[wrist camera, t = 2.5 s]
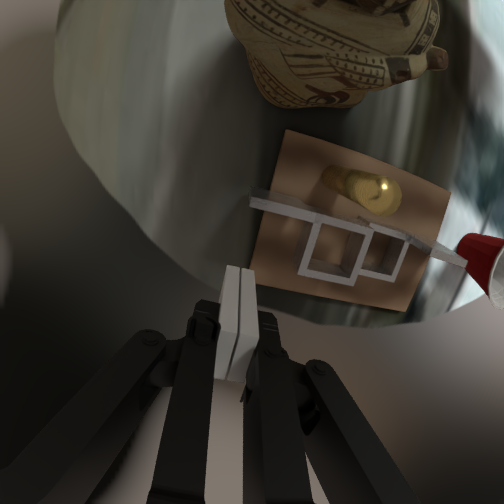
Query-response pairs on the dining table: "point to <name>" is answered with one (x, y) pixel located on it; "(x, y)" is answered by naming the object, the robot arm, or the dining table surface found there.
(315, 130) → the dining table surface
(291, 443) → the robot arm
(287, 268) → the board
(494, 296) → the plastic cup
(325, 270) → the flanged square frame
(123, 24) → the dining table surface
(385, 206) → the pin
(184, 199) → the dining table surface
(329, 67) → the ceramic vessel
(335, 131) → the dining table surface
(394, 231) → the fixed leaf
